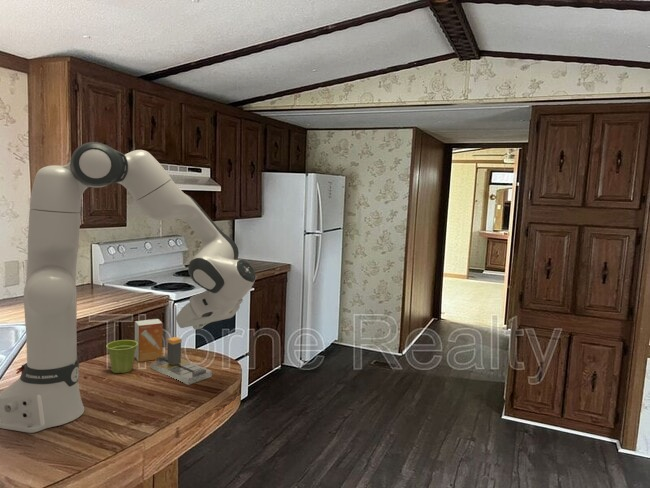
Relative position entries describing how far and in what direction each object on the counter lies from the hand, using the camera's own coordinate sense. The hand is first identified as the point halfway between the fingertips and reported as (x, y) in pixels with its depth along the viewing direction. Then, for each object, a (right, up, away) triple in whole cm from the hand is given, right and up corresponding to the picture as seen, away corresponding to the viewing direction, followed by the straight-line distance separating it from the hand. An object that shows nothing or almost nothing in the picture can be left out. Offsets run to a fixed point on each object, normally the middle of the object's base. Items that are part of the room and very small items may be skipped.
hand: (196, 326), depth 147 cm
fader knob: (-10, -14, +9) cm, 19 cm away
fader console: (-7, -16, +7) cm, 19 cm away
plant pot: (-26, -16, +7) cm, 31 cm away
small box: (-22, -14, +19) cm, 33 cm away
